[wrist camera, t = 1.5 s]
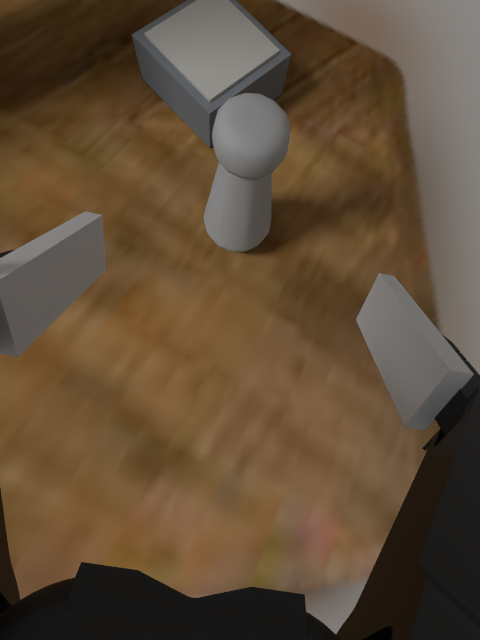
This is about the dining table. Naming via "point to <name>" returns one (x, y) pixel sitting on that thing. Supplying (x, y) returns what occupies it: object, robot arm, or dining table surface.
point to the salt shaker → (245, 170)
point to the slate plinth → (209, 59)
